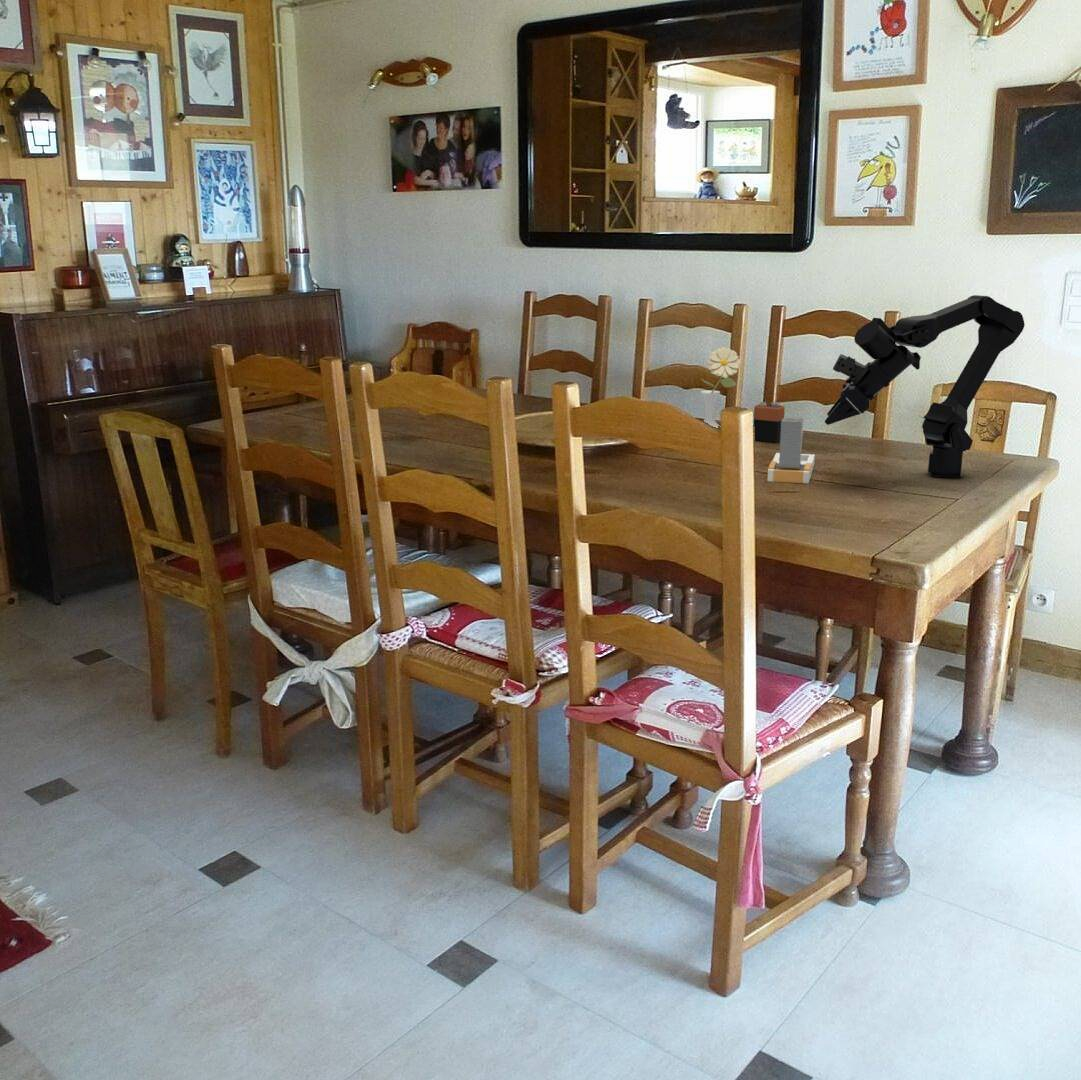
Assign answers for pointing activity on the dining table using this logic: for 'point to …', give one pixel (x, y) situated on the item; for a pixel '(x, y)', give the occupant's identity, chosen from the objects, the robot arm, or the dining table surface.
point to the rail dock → (791, 475)
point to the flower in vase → (723, 366)
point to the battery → (768, 422)
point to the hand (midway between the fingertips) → (827, 419)
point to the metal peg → (791, 444)
